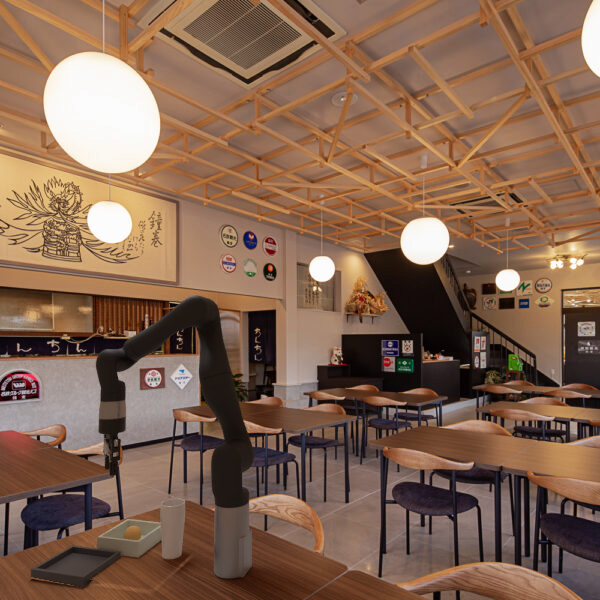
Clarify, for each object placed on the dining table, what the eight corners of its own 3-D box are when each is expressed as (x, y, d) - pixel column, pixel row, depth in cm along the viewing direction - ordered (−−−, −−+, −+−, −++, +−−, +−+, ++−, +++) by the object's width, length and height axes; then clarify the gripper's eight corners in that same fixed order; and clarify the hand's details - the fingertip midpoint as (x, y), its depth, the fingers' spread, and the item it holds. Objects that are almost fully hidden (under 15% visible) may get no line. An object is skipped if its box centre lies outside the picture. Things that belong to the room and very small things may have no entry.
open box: (165, 540, 134) (165, 523, 134) (138, 561, 121) (138, 542, 121) (127, 535, 137) (127, 518, 138) (96, 555, 124) (97, 536, 125)
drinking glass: (158, 565, 118) (160, 507, 120) (159, 554, 124) (161, 499, 126) (184, 562, 120) (185, 505, 121) (184, 551, 126) (185, 497, 128)
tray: (120, 561, 121) (120, 551, 121) (82, 588, 107) (83, 577, 108) (72, 554, 125) (72, 545, 125) (30, 579, 111) (31, 569, 112)
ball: (144, 541, 131) (145, 523, 131) (134, 548, 126) (135, 530, 126) (130, 539, 132) (131, 522, 133) (119, 546, 127) (120, 528, 128)
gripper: (130, 417, 127) (129, 475, 125) (121, 412, 139) (119, 465, 137) (102, 420, 123) (101, 480, 121) (95, 414, 135) (93, 469, 133)
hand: (111, 472), depth 129 cm, fingers open, 8 cm apart
